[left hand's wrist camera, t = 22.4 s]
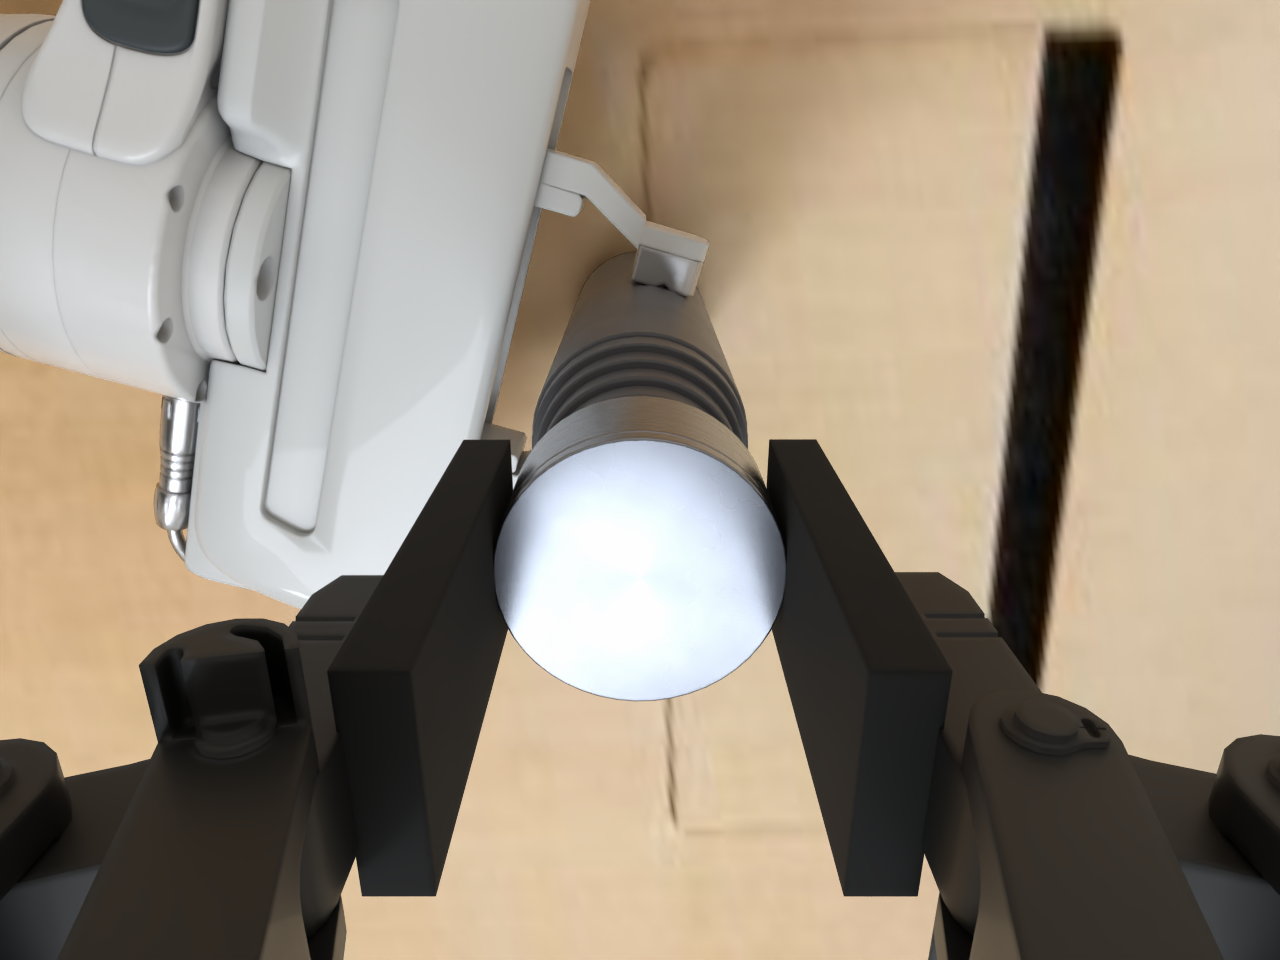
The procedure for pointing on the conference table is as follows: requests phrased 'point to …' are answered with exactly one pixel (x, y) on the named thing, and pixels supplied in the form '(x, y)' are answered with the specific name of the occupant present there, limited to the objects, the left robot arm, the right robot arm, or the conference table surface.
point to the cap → (639, 551)
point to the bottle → (638, 352)
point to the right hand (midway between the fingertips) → (670, 367)
